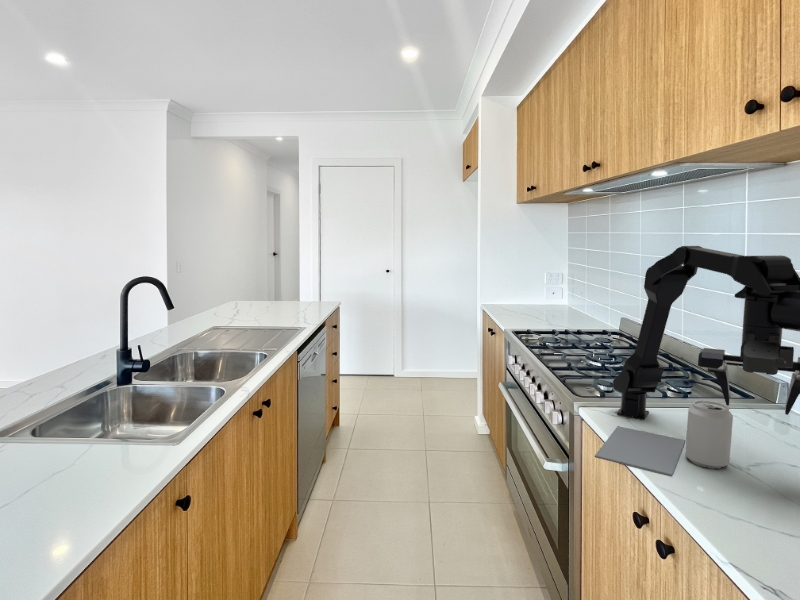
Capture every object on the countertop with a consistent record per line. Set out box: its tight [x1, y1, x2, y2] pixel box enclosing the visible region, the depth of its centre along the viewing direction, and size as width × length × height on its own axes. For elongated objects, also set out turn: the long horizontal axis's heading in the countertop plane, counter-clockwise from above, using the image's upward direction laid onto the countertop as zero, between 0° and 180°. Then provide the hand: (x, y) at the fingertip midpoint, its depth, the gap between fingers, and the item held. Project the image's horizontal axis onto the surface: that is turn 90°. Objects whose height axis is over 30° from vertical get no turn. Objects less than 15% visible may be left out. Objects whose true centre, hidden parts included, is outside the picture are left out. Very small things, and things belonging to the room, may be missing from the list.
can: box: [684, 399, 734, 469], centre depth 96 cm, size 8×8×12 cm
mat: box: [594, 425, 686, 477], centre depth 103 cm, size 20×14×1 cm
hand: (756, 409), depth 89 cm, fingers open, 8 cm apart
